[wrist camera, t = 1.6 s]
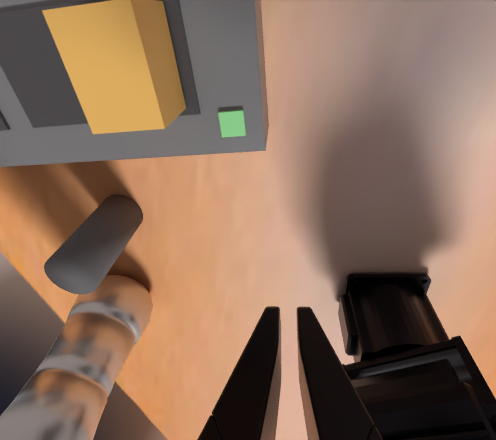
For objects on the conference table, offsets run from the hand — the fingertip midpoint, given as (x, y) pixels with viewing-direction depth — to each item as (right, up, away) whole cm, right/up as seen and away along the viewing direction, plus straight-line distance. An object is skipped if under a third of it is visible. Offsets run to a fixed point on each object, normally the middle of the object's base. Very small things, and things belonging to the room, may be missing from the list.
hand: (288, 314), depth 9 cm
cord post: (-11, +4, +14) cm, 18 cm away
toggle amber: (-6, +10, +4) cm, 12 cm away
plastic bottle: (-13, -4, +20) cm, 24 cm away
